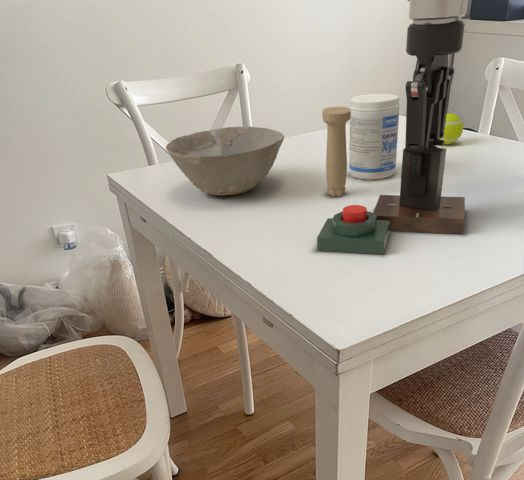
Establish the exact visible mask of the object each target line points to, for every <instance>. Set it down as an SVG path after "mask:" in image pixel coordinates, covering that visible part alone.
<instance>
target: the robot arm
mask: <svg viewBox="0 0 524 480" xmlns="http://www.w3.org/2000/svg"><path fill="white" fill-rule="evenodd" d="M407 1H408V2H409V5H408V6H409V7H408V19H409V20H411V21H412V23H410V24H409V25H408V27H407V29H406V30H407V31H406V45H405V52H406V54H407V55H409V56H412V57H414V56H415V57H416V64H415V68H414V71H413V75H412V80H408V81H406V83H405V96H406V113H405V115H406V116H405V119H406V120H405V145H404V149H405V152H408V153H411V160H410V172H409V185H408V194H412V195H420V196H425V195H426V189H427V179H428V169H429V158H430V152H427V151H428V147H433V148H438V147H443V146H444V145H445V144H444V140H440V138H443V136H444V129H445V122H446V115H447V114H448V106H449V100H450V94H451V86H452V83H453V77H454V75H455V68H454V67H449V55H455V54H458V53H459V52H460V51H461V50H462V48H463V44H464V43H463V41H464V33H465V25H466V24H465V23H464V20H462V17H465V16H466V15H467V11H468V2H469V0H407Z"/></svg>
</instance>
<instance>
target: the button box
mask: <svg viewBox="0 0 524 480" xmlns="http://www.w3.org/2000/svg"><path fill="white" fill-rule="evenodd" d="M390 233H391V231H390V221H386V220H377V216H376V215H375V214H373V211H372V212H371V211H368V210H367V219H366V221H364V222H358V223H348V222H345V221H343V210H342V211H340V212H338V213H336V214H334V215H333V217H331V218H330V217H328V218H327V219H326V221H325V222H324V224H323V226H322V228H321V229H320V231H319V234H318V235H317V237H316V250H317V252H334V253H335V252H336V253H353V254H373V255H384V254H385V250H386V246H387V242H388V240H389V237H390Z"/></svg>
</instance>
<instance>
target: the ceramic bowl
mask: <svg viewBox="0 0 524 480" xmlns="http://www.w3.org/2000/svg"><path fill="white" fill-rule="evenodd" d="M284 139H285V135H284V134H283V133H282V132H280V131H278V130H275V129H271V128H266V127H258V126H229V127H228V126H227V127H220V128H216V129H215V128H214V129H209V130H201V131H197V132H195V133H190V134H186V135H182V136H179V137H176V138H174V139H172V140H171V141H170V142H169V143H166V145H165V150H166V152H167V153H168V155H169V156H170V158H171V159H172V160H173V162H174V164H175V165H176V166H177V167H178V169H179V170H180V171H181V173H183V174H184V176H185V177H186V178H187V179H188V181H190V183H192V185H193V186H194V187H196V188H197V189H199V190H200V191H201V192H202V193H204V194H207V195H213V196H232V195H233V196H235V195H239V194H244V193H246V192H249V191H251V190H253V188H255V187H256V186H257V185H258V184H259V183H260V182H261V181H262V180H263V179H264V178H265V177H266V176H268V174H269V172H270V171H271V170H272V167H273V166H274V163H275V161H276V158H277V156H278V154H279V151H280V148H281V146H282V144H283V142H284Z"/></svg>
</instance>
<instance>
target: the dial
mask: <svg viewBox="0 0 524 480" xmlns="http://www.w3.org/2000/svg"><path fill="white" fill-rule="evenodd" d="M427 152H430V158H429V169H428V179H427V189H426V195H425V196H420V195H412V194H408V185H409V172H410V160H411V153H408V152H405V148H403V149H402V159H401V160H402V161H401V173H400V187H399V195H400V201H399V206H405V207H413V208H420V209H427V210H434V211H435V210H436V209H437V208H438V207H439V206H440V201H441V196H442V191H443V182H444V174H445V166H446V165H445V164H446V156H447V148H445V147H437V148H433V147H428V151H427Z"/></svg>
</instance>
